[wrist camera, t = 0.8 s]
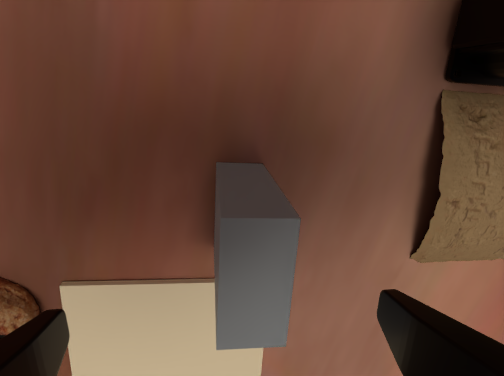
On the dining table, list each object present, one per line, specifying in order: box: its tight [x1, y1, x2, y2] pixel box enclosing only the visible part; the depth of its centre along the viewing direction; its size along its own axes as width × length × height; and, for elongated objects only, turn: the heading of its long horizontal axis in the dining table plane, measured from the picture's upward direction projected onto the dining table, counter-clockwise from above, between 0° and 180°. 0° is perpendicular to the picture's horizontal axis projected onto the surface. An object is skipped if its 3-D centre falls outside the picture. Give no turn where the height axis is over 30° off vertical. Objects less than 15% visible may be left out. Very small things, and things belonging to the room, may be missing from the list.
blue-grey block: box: [214, 162, 301, 350], centre depth 17 cm, size 3×6×9 cm, turn 176°
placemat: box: [60, 279, 263, 376], centre depth 24 cm, size 14×13×1 cm
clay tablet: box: [411, 90, 504, 263], centre depth 22 cm, size 14×10×3 cm
